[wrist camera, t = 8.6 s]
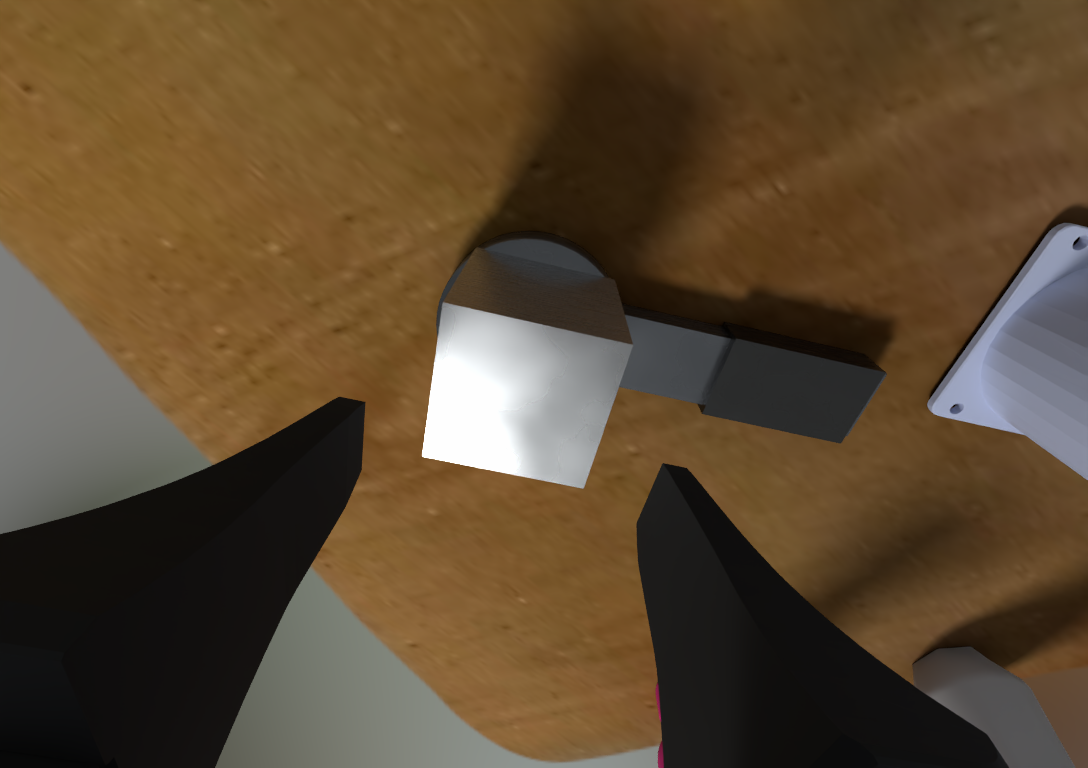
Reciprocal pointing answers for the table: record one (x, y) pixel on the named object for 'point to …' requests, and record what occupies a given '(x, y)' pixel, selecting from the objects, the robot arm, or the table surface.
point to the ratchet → (722, 358)
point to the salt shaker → (992, 705)
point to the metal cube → (526, 368)
